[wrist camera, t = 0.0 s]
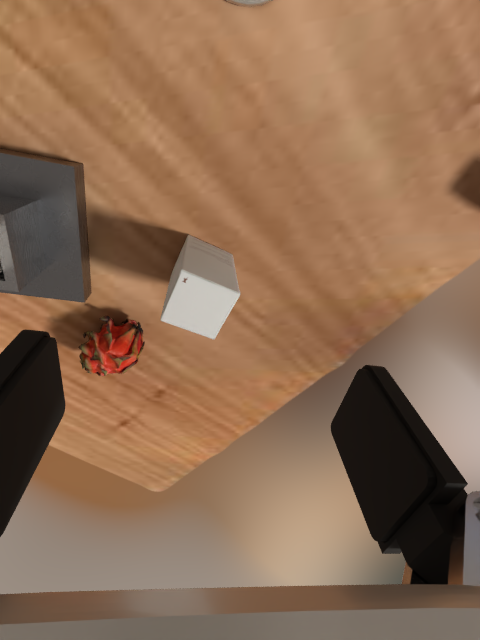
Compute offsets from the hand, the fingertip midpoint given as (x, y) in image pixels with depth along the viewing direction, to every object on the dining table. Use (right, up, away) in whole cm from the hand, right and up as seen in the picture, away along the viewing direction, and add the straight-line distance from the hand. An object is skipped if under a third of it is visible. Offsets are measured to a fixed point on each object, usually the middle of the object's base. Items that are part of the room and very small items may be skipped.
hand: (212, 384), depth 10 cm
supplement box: (-5, +10, +37) cm, 39 cm away
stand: (-29, +15, +32) cm, 45 cm away
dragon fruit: (-19, 0, +42) cm, 46 cm away
